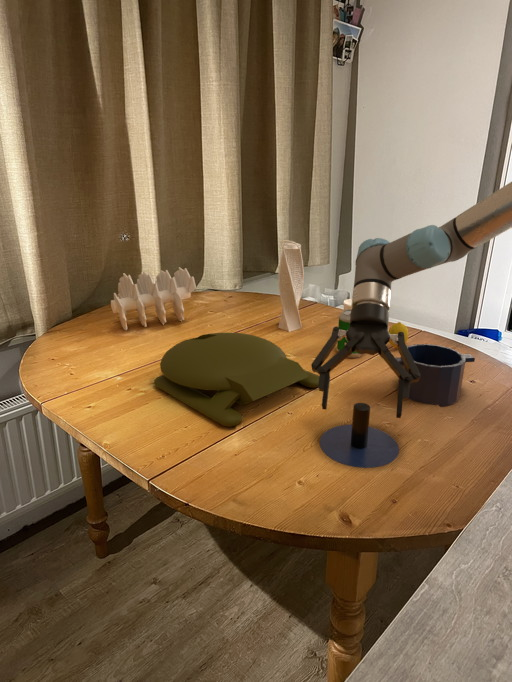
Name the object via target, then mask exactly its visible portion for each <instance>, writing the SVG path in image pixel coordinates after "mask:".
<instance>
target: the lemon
mask: <svg viewBox="0 0 512 682" xmlns="http://www.w3.org/2000/svg"><path fill="white" fill-rule="evenodd" d="M388 332H389V334H398V333H399V332H403V333H404V337H405V344H406V345H407V343H408V341H409V329H408V327H407V325H405V324H404V323H402V322H401V321H397V322H395V323H393V324H392V325H391V326H390V328H388ZM388 343H389V344H390V346H391V347H393V348H394V349H395V350H398V348H397V346H395V345H394V344H393V342H392V341H389V342H388Z"/></svg>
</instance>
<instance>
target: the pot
mask: <svg viewBox="0 0 512 682" xmlns="http://www.w3.org/2000/svg"><path fill="white" fill-rule="evenodd" d="M406 346H407V348H408V350H409V352H410V354H411V356H412V358H413V360H414V362H415V364H416V366H417V368H418V370H419V372H420V375H421V376H420V379H419V381H418V382H412V383H410V389H409V397H408V399H409V400H411V401H413V402H417V403H421V404H424V405H433V406H439V407H440V408H443V407H448V406H449V407H450V406H452V405H455V404H456V403H457V402H458V401H459V400H460V398H461V392H462V386H463V379H464V375H465V374H464V373H465V368H466V363H475V360H476V357H475V356H473V355H472V354H470V353H462V352H460V351H458V350H457V349H454V348H451V347H448V346H444V345H440V344H432V343H415V344H411V345H406ZM395 358H396V360H397V361H398V362H399V363H400V364H401V366H402V367H403V368H404V369H405V371H406V372H407V373H408V374H409V372H408V370H407V368H406V365H405V363H404V361H403V359H402V357H401V356H400V357H399V356H398V357H395ZM399 380H400V379H399V378H398V377H397V385H398V384H399ZM396 389H397V391H398V387H397V388H396Z"/></svg>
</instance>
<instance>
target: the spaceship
mask: <svg viewBox="0 0 512 682" xmlns="http://www.w3.org/2000/svg"><path fill="white" fill-rule="evenodd" d="M159 366H160V372H161V373H162V375H159V376H157V377H156V378H155V379H154V380H153V384H154V386H155V387H156V388H158V389H160V390H161V391H163V392H165V393H166V394H169V395H170V396H172V397H173V398H174V399H177V400H178V401H180V402H182V403H183V404H185V405H187V406H188V407H190V408H192V409H194V410H196V411H197V412H199V413H201V414H202V415H204V416H206V417H207V418H209V419H211V420H212V421H214V422H216V423H217V424H219V425H221V426H223V427H235V426H238V425H239V424H241V422H242V421H243V416H242V414H241V413H240V412H239V411H237V410H236V409H233V408H231V407H232V406H233V405H234V404H235V403H237V404H238V405H239V404H240V405H241V406H244V405H247V404H249V403H252V402H254V401H257V400H259V399H261V398H263V397H266V396H268V395H270V394H272V393H273V394H274V393H275V392H277V391H279V390H282V389H284V388H286V387H288V386H290V385H293V384H295V383H297V384H300V385H301V386H305V387H306V388H310V389H311V388H318V383H319V374H318V375H317V374H316V373H314V372H310V371H308V370H305V369H304V368H303V367H302V365H301V364H300V363H299V362H298V361H295V360H293V359H290V358H288V357H287V354H286V353H285V352H284V351H283V349H282V348H281V347H279V345H277V344H276V343H274V342H272V341H270V340H268V339H266V338H262V337H260V336H256V335H254V334H248V333H242V332H229V331H228V332H213V333H211V332H210V333H206V334H201V335H199V336H197V337H192V338H189V339H184V340H182V341H180V342H178V343H176V344H175V345H174V346H172V347H171V348H169V349H168V350H167V351H166V352H165V353H164V354H163V355H162V358H161V359H160V362H159ZM200 390H206V391H216V393H215V394H214V395H213V396H212V397H211V396H209V395H208V394H206V393H204V392H203V391H200Z"/></svg>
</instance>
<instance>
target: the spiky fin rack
mask: <svg viewBox="0 0 512 682" xmlns="http://www.w3.org/2000/svg"><path fill="white" fill-rule="evenodd" d="M159 272H160V273H157V275H156V277H155V279H156V280H154V279H153V276H152V274H151V273H150V272H149V273H147V272H146V270H142V273H140V274H138V275H137V277H138V278H137V279H136V283H135V282H133V279H132V276H131V274H128V275H127V274H126V273H122V276H120V278H119V279H118V280H119V282H117V284H118V285H117V292H118V293H116V292H113V299H112V300H110V307H111V310H112V313H113V314H117V313H118V314H117V315H118V317H119V321H120V324H121V326H122V329H123V330H124V331H127V330H128V324H127V320H128V319H127V317H126V316H127V315H128V311H133V310H136V314H137V315H138V320H139V322H140V323H141V324H140V325H141V326H142V327H143V326H144V327H145V328H147V326H148V325H147V316H146V311H147V307H153V306H155V313H156V316H157V318H158V321H159V320H160V321H159V322H160V323H161V325H163V326H165V325H164V324H165V323H167V318H166V314H167V312H166V304H167V303H172V309H173V312H174V314H175V317H176V318H177V319H178V321H179V322H180V321H181V322H182V321H185V315H184V314H185V307H184V306H183V300H186V299H190V298H191V297H192V293H193V292H194V291H195V290H197V289H198V288H197V285H196V281H195V280H196V279H195V277H194V275H193V276H191V275H190V273H189V271H188V269H187V267H185V268H184V269H183V268H182V267H180V266H179V267H178V270H176V271H175V272H174V273H173V276H171V274H170V272H169V270H168V269H166V270H165V271H164V270H162V269H160V270H159Z"/></svg>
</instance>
